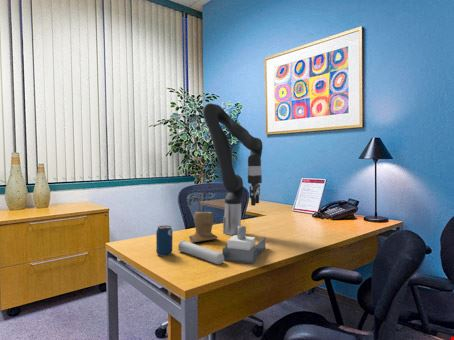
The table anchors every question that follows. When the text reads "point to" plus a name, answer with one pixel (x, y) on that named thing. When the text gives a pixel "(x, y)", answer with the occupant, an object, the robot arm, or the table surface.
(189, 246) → the tube
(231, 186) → the robot arm
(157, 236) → the soda can
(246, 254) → the bay
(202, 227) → the stone cup
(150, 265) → the table surface
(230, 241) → the white knobbed block
